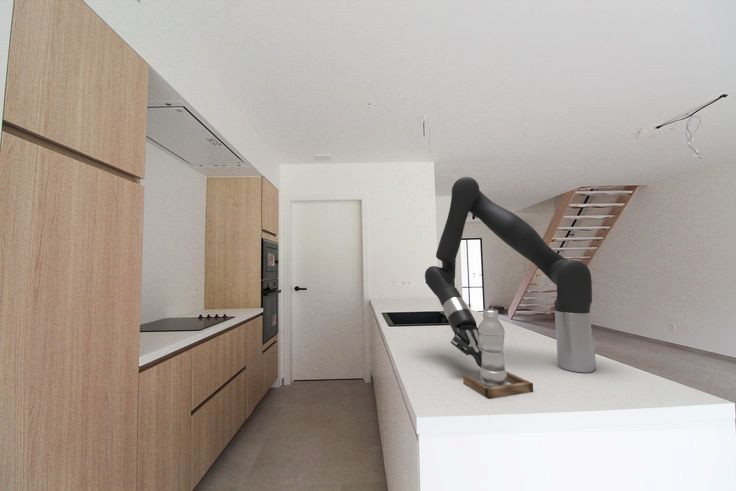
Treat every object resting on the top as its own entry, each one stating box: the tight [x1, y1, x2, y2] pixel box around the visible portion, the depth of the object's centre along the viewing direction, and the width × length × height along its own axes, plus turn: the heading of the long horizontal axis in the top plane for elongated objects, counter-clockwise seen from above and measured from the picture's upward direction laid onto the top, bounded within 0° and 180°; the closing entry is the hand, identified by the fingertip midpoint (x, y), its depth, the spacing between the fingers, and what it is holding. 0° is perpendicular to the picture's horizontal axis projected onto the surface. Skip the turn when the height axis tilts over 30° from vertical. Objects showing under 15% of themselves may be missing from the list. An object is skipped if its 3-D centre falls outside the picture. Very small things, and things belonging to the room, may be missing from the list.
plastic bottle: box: [477, 308, 508, 388], centre depth 79 cm, size 6×7×20 cm
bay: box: [462, 370, 534, 399], centre depth 78 cm, size 13×10×2 cm
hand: (485, 367), depth 82 cm, fingers closed
